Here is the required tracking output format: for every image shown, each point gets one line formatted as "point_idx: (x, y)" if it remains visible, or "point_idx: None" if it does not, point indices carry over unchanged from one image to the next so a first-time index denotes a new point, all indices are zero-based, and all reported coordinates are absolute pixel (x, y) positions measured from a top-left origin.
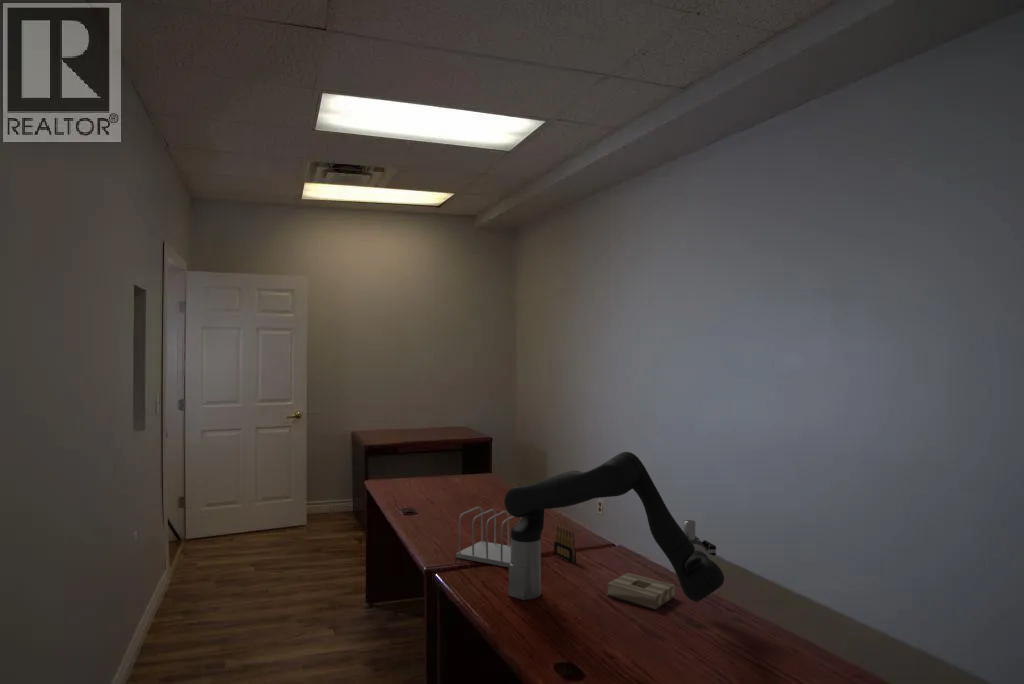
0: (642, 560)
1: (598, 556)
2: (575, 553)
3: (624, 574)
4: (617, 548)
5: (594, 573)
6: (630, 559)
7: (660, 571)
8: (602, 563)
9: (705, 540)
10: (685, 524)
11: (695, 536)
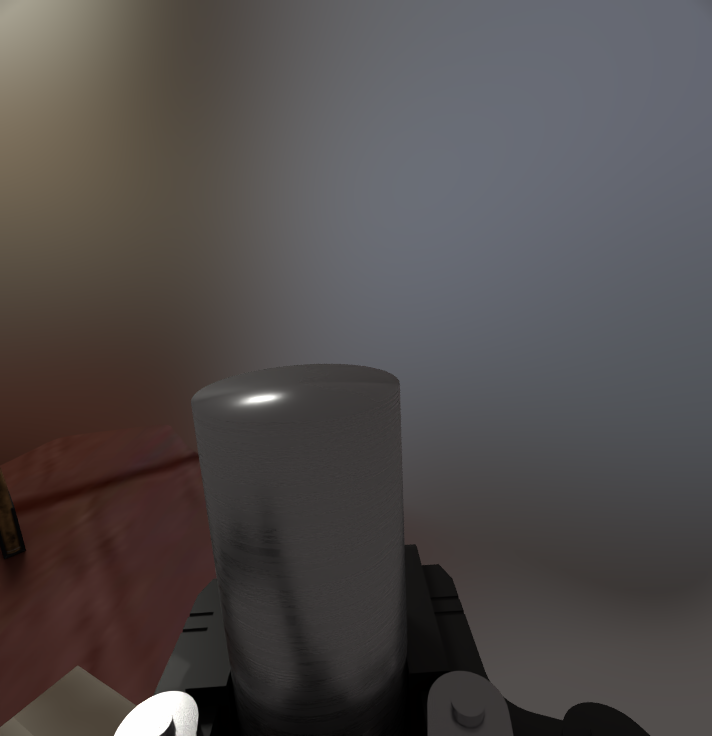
0: None
1: (132, 505)
2: (16, 525)
3: (41, 695)
4: None
5: (22, 619)
6: None
7: None
8: (115, 540)
9: (616, 728)
10: (203, 457)
11: (406, 554)
